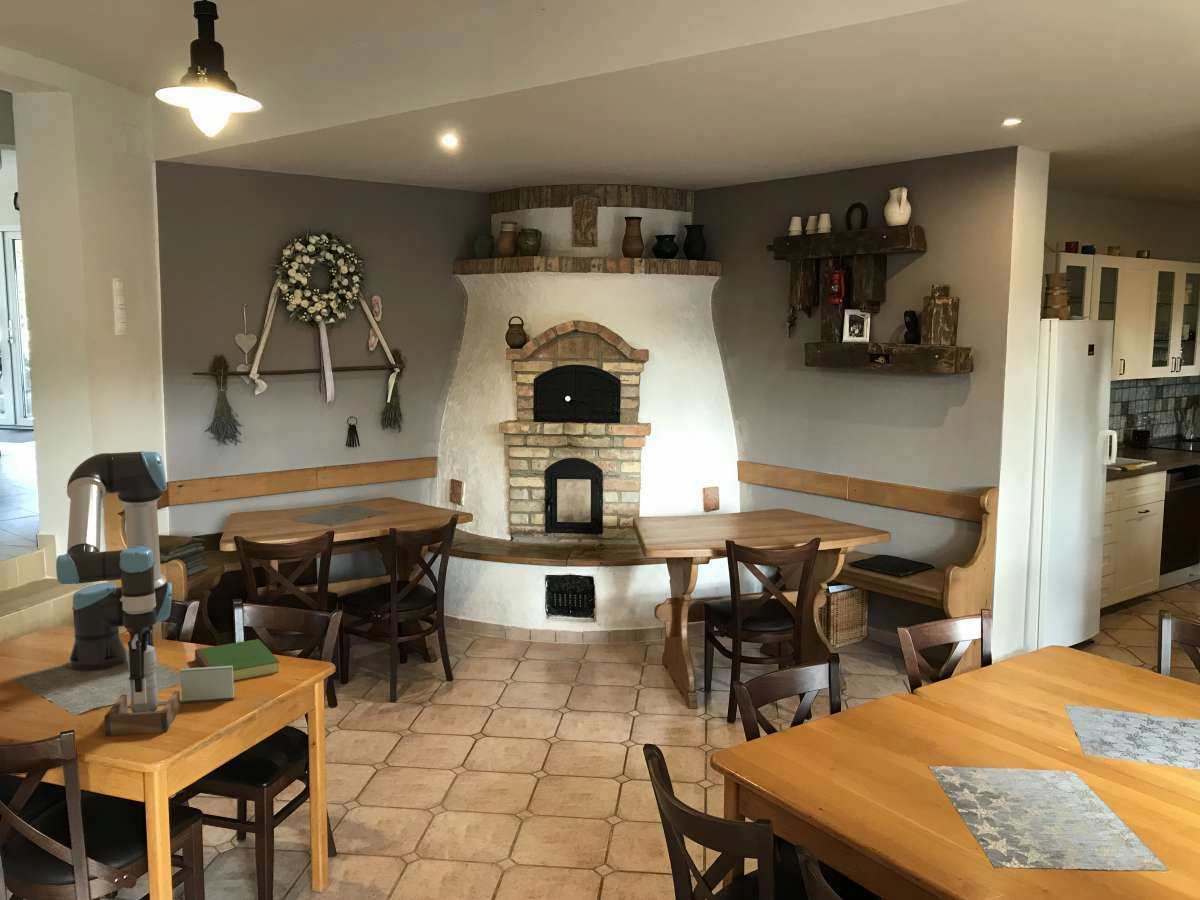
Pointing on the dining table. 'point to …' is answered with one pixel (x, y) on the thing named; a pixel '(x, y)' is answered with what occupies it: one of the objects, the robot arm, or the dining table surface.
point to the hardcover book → (240, 658)
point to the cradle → (145, 716)
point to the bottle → (147, 683)
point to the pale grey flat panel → (207, 683)
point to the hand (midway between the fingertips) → (144, 697)
